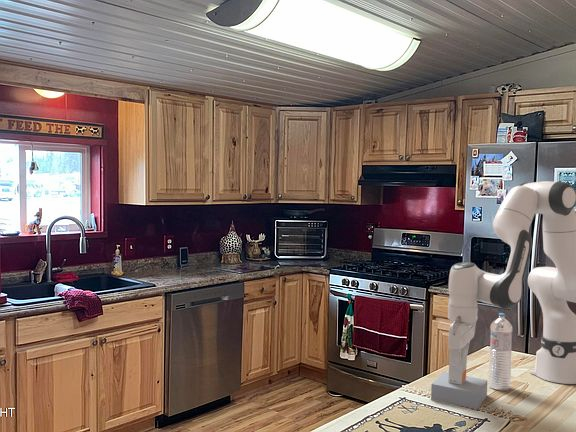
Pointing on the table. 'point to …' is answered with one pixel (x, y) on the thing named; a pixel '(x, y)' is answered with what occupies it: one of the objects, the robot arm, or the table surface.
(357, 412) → the table surface
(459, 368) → the skincare box
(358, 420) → the table surface
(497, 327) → the water bottle
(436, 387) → the base block
